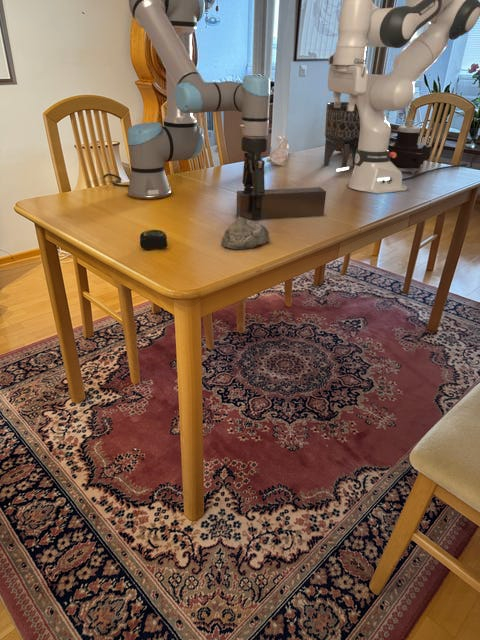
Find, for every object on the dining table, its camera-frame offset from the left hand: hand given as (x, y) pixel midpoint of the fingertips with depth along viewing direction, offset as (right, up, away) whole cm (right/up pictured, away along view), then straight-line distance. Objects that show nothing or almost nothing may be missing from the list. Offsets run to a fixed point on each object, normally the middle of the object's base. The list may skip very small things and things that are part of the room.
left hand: (252, 213), depth 141 cm
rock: (-2, -13, -20) cm, 24 cm away
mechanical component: (+73, +37, +68) cm, 106 cm away
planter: (+43, +38, +69) cm, 90 cm away
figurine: (+14, +39, +70) cm, 81 cm away
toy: (+53, +56, +100) cm, 126 cm away
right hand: (+29, +33, +1) cm, 44 cm away
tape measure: (-26, -15, -24) cm, 38 cm away
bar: (+9, 0, +3) cm, 9 cm away
